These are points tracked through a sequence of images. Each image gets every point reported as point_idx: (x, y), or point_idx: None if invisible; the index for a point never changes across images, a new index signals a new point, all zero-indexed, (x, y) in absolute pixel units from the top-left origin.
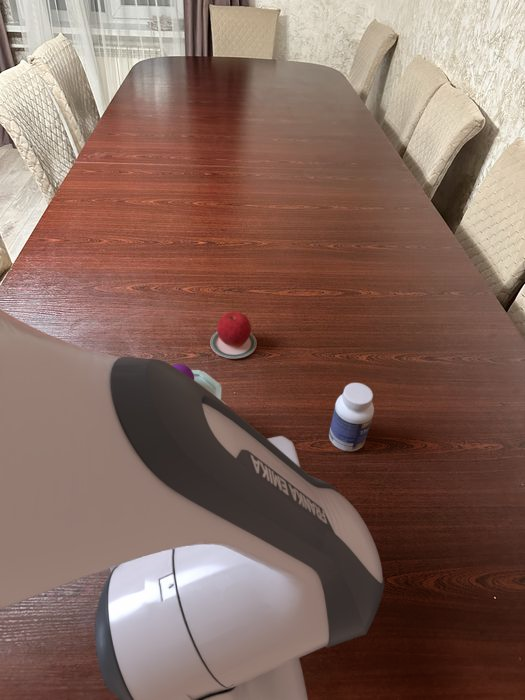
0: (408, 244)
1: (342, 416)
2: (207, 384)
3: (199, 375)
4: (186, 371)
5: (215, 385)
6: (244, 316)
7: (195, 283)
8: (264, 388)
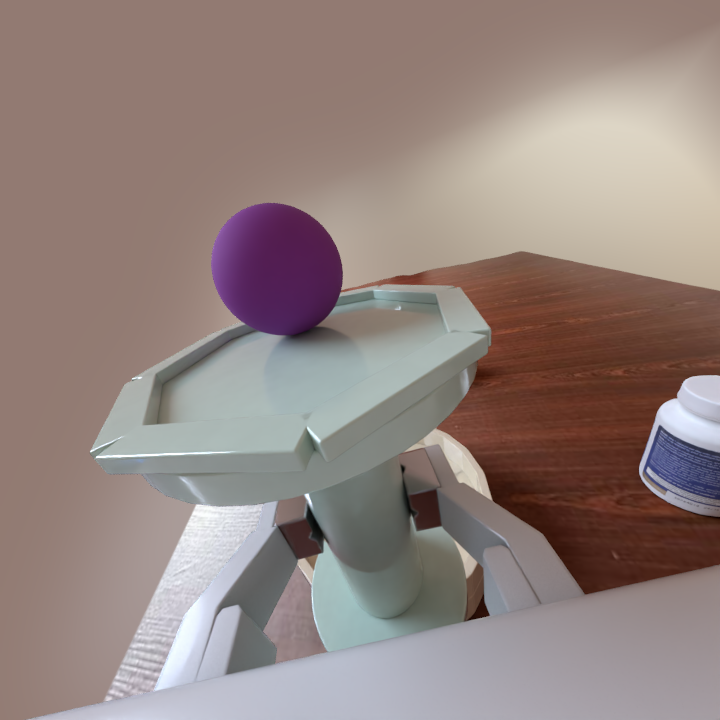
0: (593, 285)
1: (702, 442)
2: (402, 304)
3: (375, 295)
4: (291, 208)
5: (433, 290)
6: None
7: None
8: (494, 418)
